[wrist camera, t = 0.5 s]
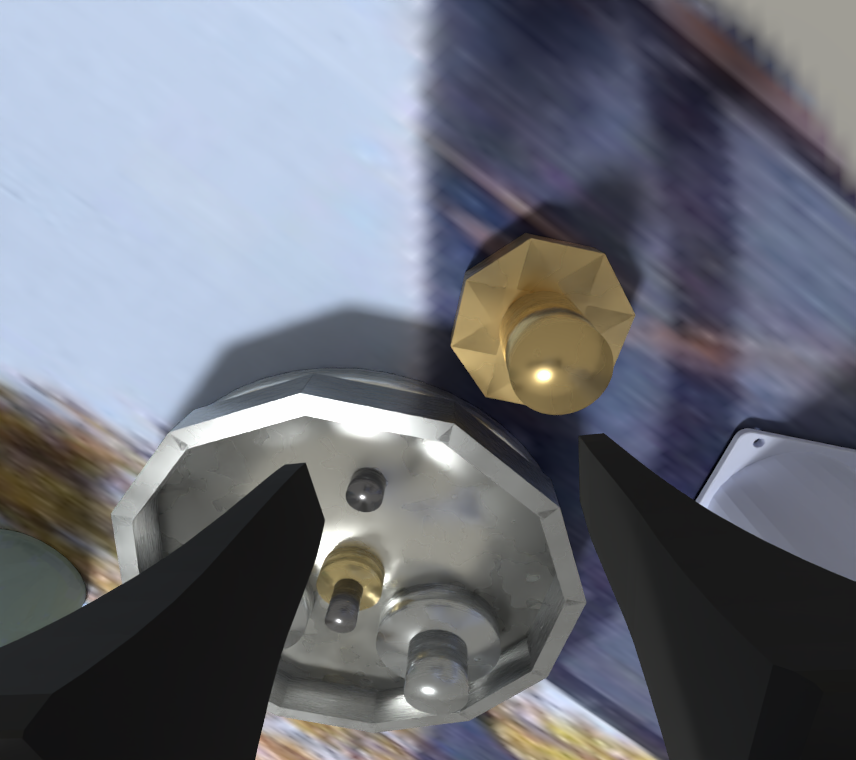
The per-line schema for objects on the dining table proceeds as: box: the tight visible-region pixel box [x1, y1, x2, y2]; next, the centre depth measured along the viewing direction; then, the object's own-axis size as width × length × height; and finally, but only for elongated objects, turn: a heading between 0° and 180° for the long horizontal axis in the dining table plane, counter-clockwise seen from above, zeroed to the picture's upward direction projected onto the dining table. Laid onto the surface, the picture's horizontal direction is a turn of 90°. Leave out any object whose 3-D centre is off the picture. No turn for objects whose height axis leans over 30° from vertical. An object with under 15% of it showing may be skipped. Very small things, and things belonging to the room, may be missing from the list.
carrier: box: [111, 368, 586, 733], centre depth 24 cm, size 24×24×6 cm
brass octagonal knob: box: [451, 233, 635, 415], centre depth 17 cm, size 7×7×6 cm
